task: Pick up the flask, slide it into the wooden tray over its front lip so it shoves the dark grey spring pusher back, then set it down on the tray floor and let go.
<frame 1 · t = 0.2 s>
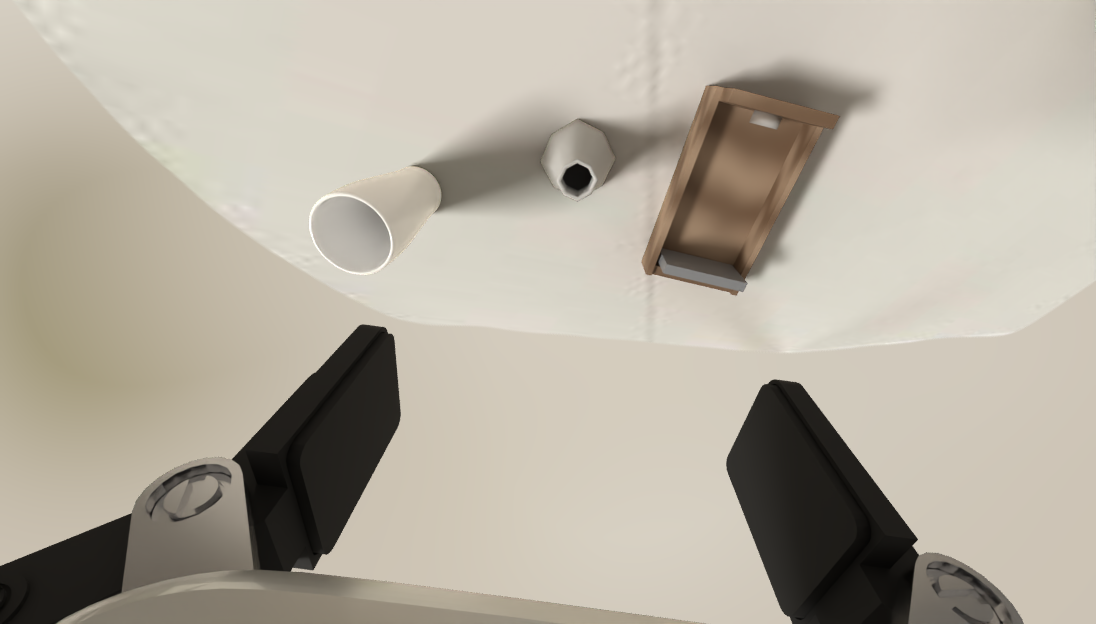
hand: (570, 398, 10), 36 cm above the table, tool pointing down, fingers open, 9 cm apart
flask: (577, 159, 41), on the table
drinking glass: (419, 190, 44), on the table
wooden tray: (717, 194, 42), on the table
pusher: (699, 268, 42), point 4 cm above the table, slide at 0.0 cm
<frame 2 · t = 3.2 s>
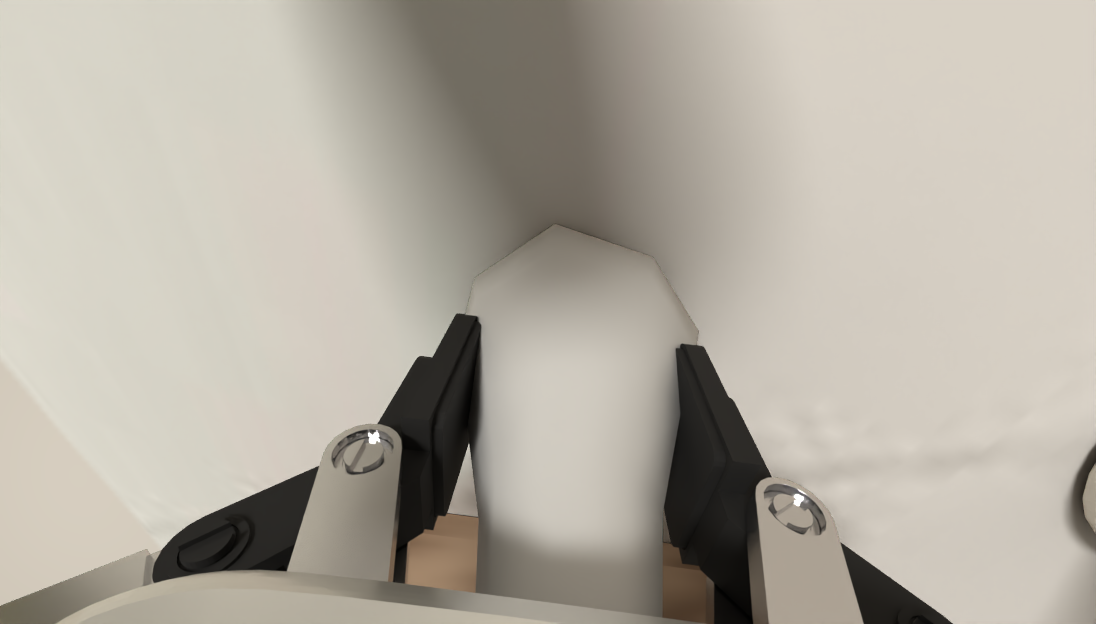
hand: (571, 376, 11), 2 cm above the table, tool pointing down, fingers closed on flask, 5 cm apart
flask: (572, 334, 13), on the table, touching gripper
wooden tray: (529, 587, 20), on the table
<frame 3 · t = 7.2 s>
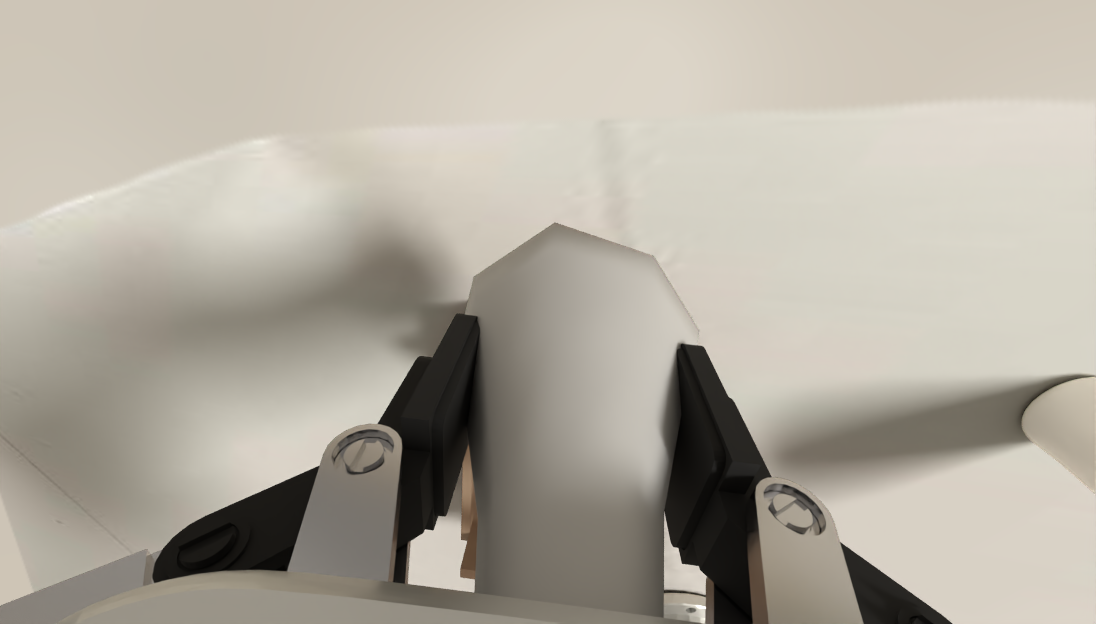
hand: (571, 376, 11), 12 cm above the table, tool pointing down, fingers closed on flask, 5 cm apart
flask: (572, 334, 13), point 10 cm above the table, touching gripper
drinking glass: (1063, 405, 25), on the table
wooden tray: (548, 423, 28), on the table
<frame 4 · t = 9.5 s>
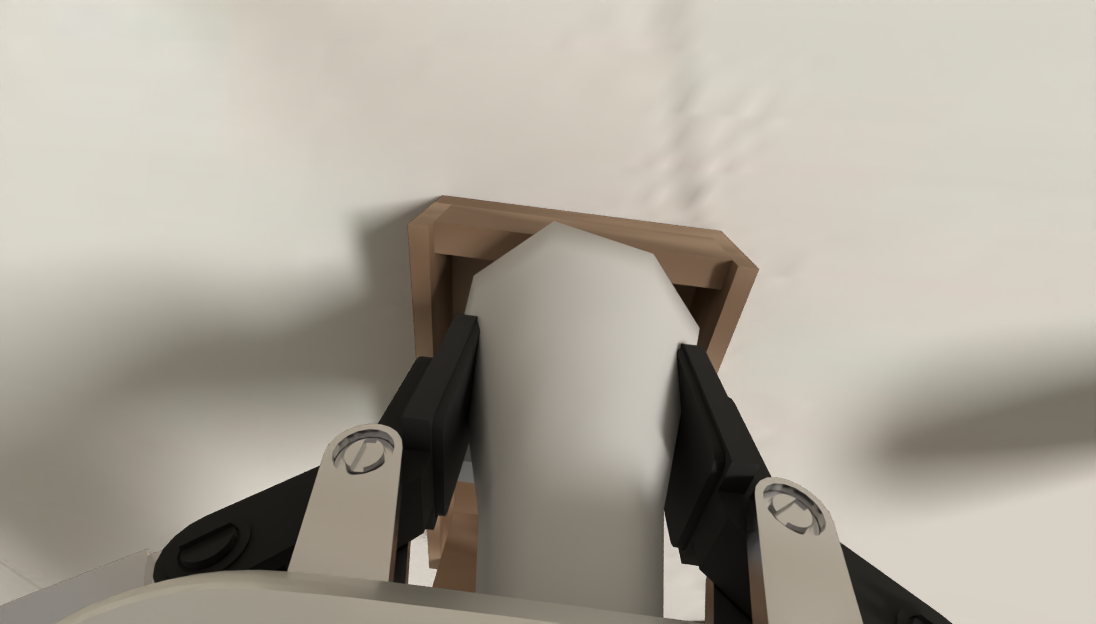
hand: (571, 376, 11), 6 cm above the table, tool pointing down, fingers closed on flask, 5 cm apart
flask: (572, 332, 13), point 4 cm above the table, touching gripper, pusher
wooden tray: (553, 400, 19), on the table
pusher: (553, 428, 15), point 4 cm above the table, slide at 5.1 cm, touching flask
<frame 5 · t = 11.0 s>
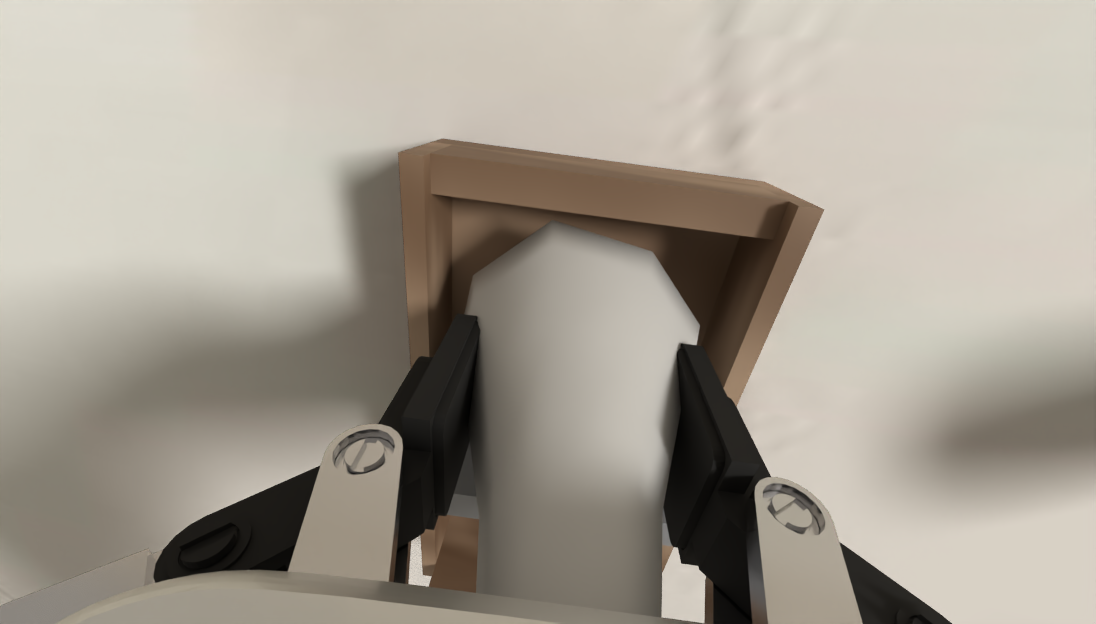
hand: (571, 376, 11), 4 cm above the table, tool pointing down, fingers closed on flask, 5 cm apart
flask: (572, 330, 13), point 2 cm above the table, touching gripper
wooden tray: (564, 385, 17), on the table
pusher: (560, 455, 14), point 4 cm above the table, slide at 7.2 cm
when the fingers open (4 cm above the table, at t = 11.4 s): flask drops 1 cm, resting on wooden tray, pusher.
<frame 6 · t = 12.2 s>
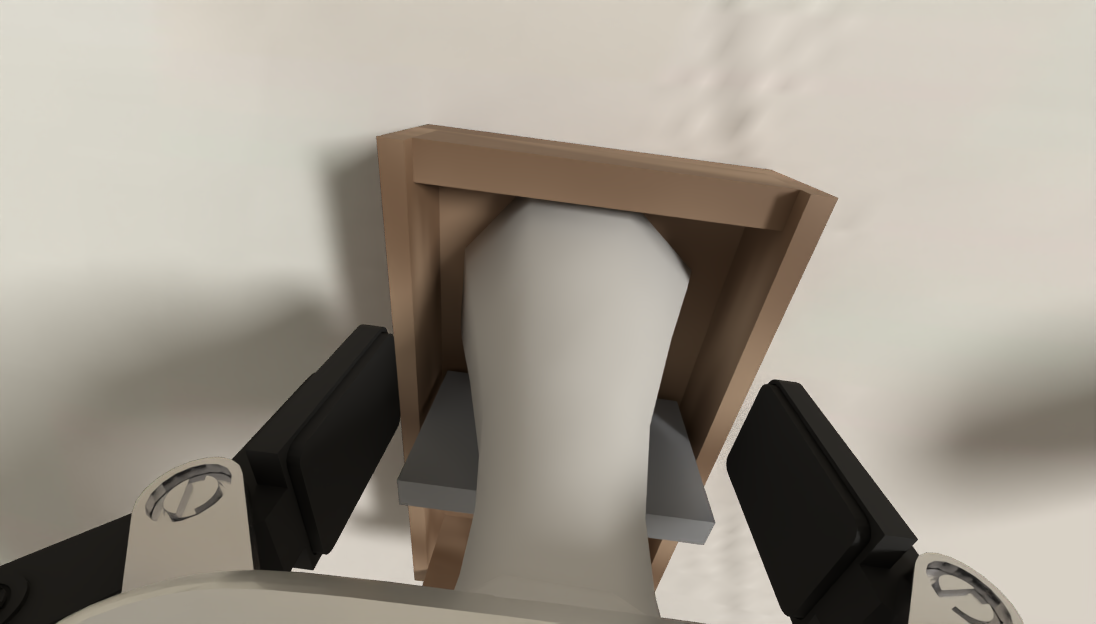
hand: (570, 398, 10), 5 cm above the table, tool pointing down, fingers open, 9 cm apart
flask: (569, 293, 13), point 1 cm above the table, touching wooden tray, pusher
wooden tray: (560, 384, 16), on the table
pusher: (557, 445, 13), point 4 cm above the table, slide at 6.5 cm, touching flask
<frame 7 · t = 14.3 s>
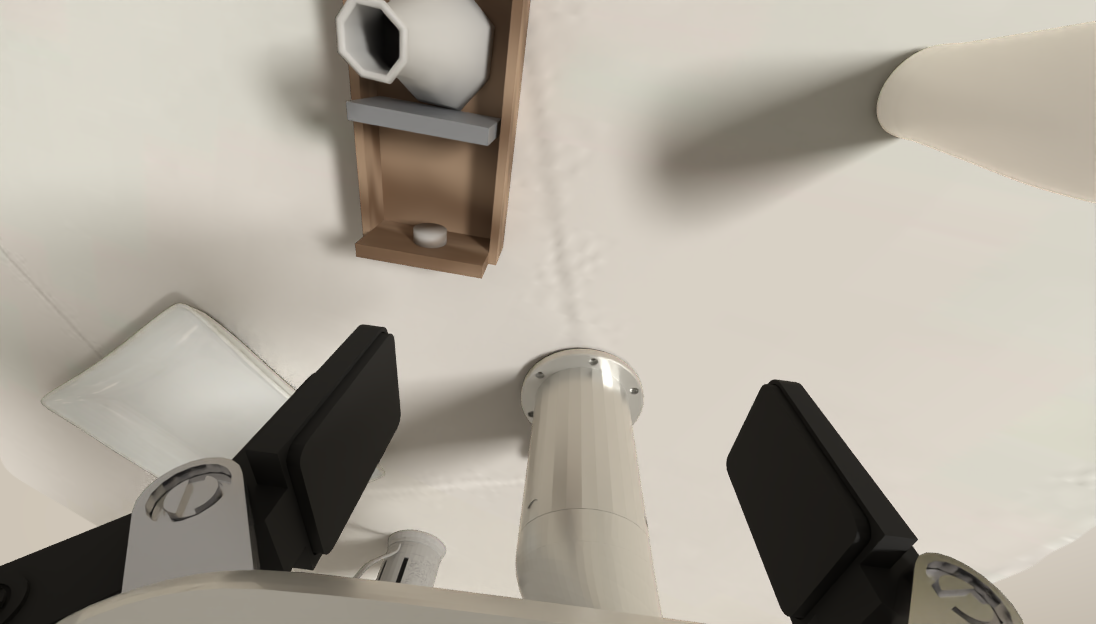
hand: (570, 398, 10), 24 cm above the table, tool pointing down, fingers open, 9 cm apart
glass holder: (408, 535, 59), on the table
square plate: (240, 416, 48), on the table
flask: (440, 46, 26), point 1 cm above the table, touching wooden tray, pusher
drinking glass: (914, 92, 27), on the table
wooden tray: (445, 120, 29), on the table
pusher: (430, 119, 26), point 4 cm above the table, slide at 6.5 cm, touching flask
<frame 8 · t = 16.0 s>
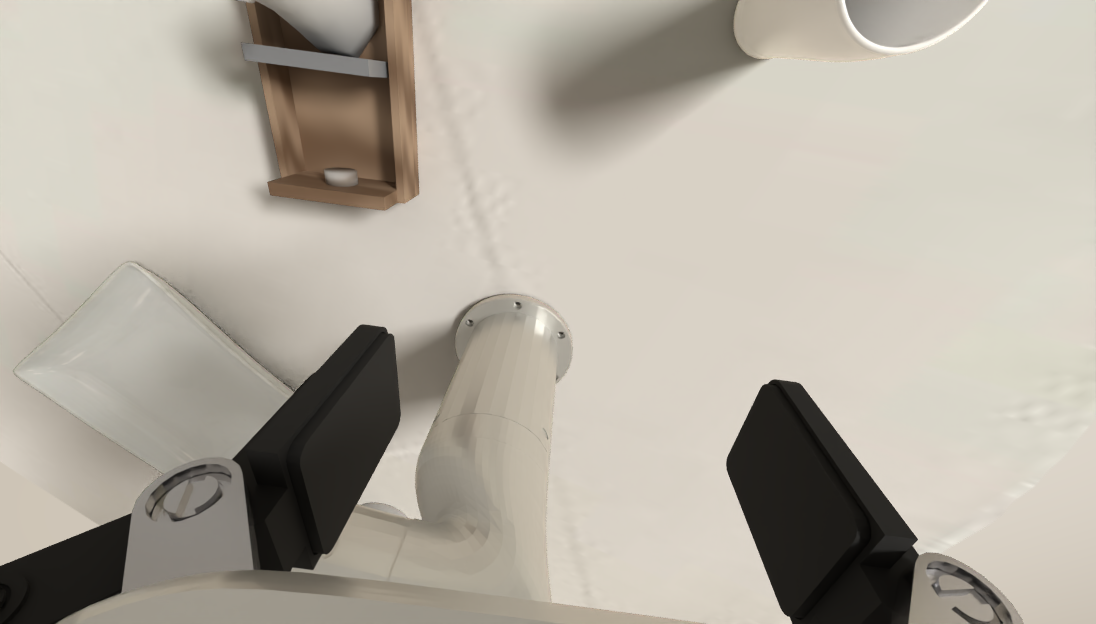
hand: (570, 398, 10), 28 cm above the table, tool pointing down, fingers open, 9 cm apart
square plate: (201, 386, 51), on the table
drinking glass: (768, 16, 29), on the table
wooden tray: (351, 71, 32), on the table
pusher: (325, 61, 29), point 4 cm above the table, slide at 6.5 cm, touching flask
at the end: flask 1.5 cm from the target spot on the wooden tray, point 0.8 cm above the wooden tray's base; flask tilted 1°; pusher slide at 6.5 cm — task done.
